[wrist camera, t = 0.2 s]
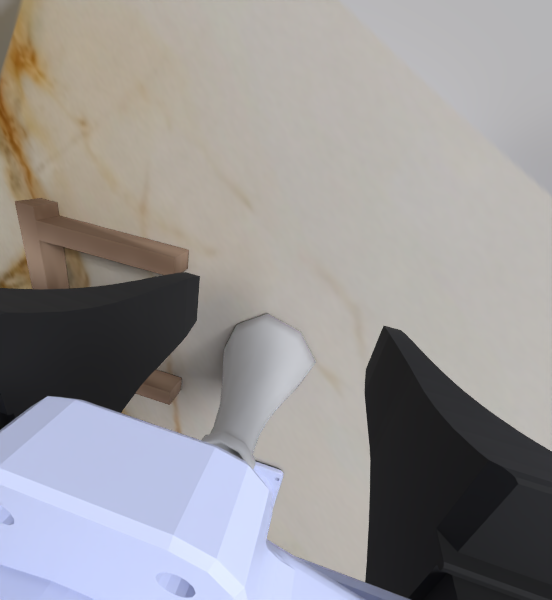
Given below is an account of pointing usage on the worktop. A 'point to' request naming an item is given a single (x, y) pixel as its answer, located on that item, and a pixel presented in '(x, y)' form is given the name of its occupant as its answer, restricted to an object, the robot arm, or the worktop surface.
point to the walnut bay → (99, 242)
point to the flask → (257, 381)
